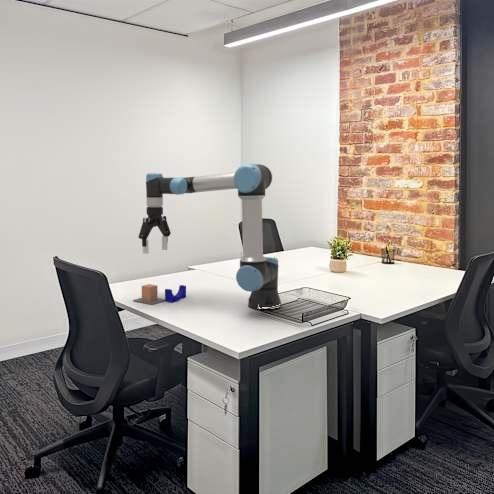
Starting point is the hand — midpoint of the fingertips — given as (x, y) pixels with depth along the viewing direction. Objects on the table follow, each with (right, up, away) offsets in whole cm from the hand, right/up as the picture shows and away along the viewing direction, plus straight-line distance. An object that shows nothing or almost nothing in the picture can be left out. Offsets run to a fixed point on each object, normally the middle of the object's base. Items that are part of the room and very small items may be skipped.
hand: (155, 251), depth 247 cm
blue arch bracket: (+9, -23, +5) cm, 26 cm away
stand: (-3, -23, +1) cm, 24 cm away
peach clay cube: (-3, -23, +1) cm, 23 cm away
